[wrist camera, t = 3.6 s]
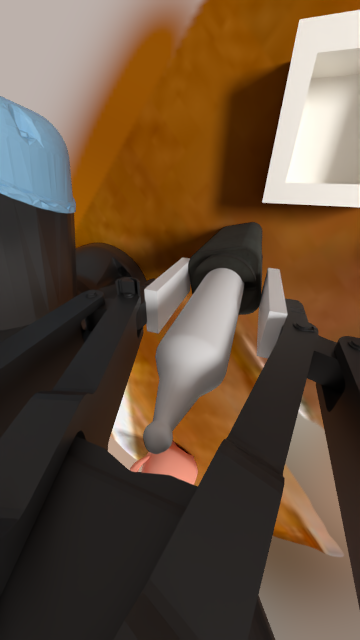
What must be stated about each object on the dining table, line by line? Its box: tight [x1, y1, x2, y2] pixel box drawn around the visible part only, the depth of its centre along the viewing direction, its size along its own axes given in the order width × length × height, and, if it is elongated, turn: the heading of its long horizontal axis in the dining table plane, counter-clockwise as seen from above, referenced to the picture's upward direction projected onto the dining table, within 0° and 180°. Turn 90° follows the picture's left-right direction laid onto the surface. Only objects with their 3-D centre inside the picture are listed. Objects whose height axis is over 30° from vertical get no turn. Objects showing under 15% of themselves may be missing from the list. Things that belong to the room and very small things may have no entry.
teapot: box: [130, 441, 198, 485], centre depth 52 cm, size 13×20×12 cm, turn 54°
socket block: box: [262, 10, 360, 207], centre depth 17 cm, size 10×10×5 cm
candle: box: [143, 222, 262, 454], centre depth 16 cm, size 5×5×25 cm
